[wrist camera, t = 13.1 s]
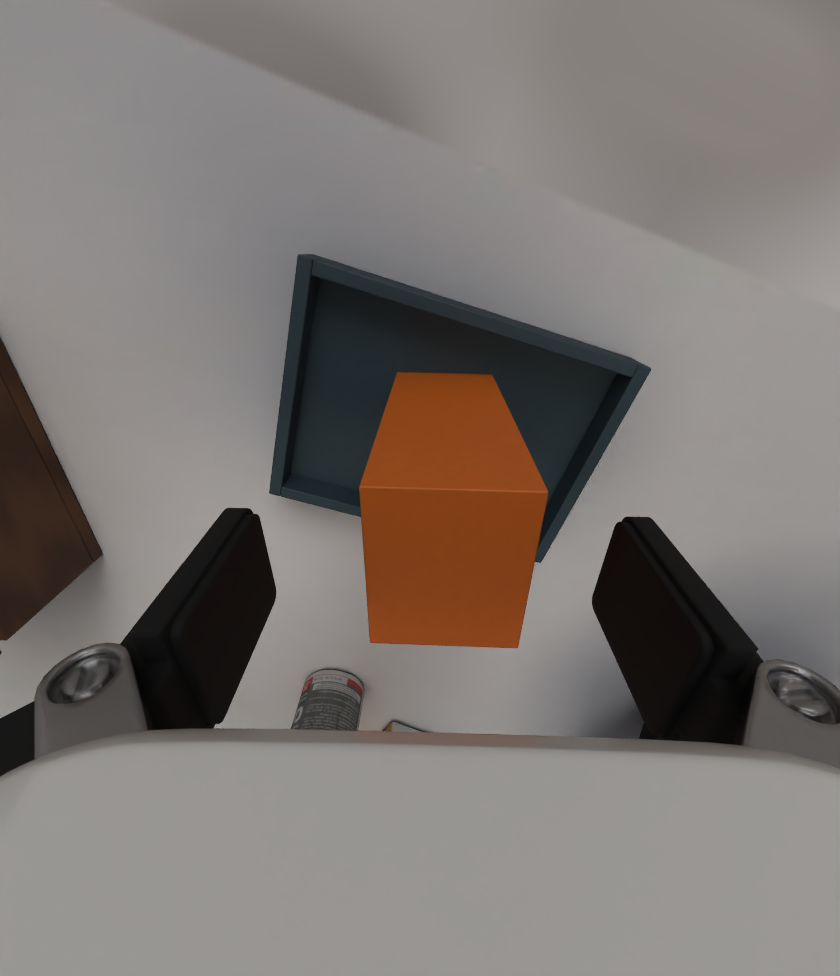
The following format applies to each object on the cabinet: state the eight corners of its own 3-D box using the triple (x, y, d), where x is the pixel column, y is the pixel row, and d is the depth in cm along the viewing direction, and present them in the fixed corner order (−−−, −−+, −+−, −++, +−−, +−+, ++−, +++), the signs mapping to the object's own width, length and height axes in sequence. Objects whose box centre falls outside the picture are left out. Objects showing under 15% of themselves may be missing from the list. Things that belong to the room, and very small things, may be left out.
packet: (396, 371, 19) (358, 486, 10) (492, 373, 19) (549, 491, 10) (398, 474, 22) (369, 643, 12) (482, 477, 22) (518, 648, 12)
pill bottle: (300, 667, 31) (259, 792, 24) (361, 667, 31) (339, 794, 24) (310, 704, 34) (275, 828, 26) (367, 705, 33) (348, 830, 26)
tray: (281, 474, 23) (268, 493, 21) (311, 253, 17) (297, 253, 16) (533, 540, 25) (541, 563, 23) (631, 358, 19) (652, 368, 17)
